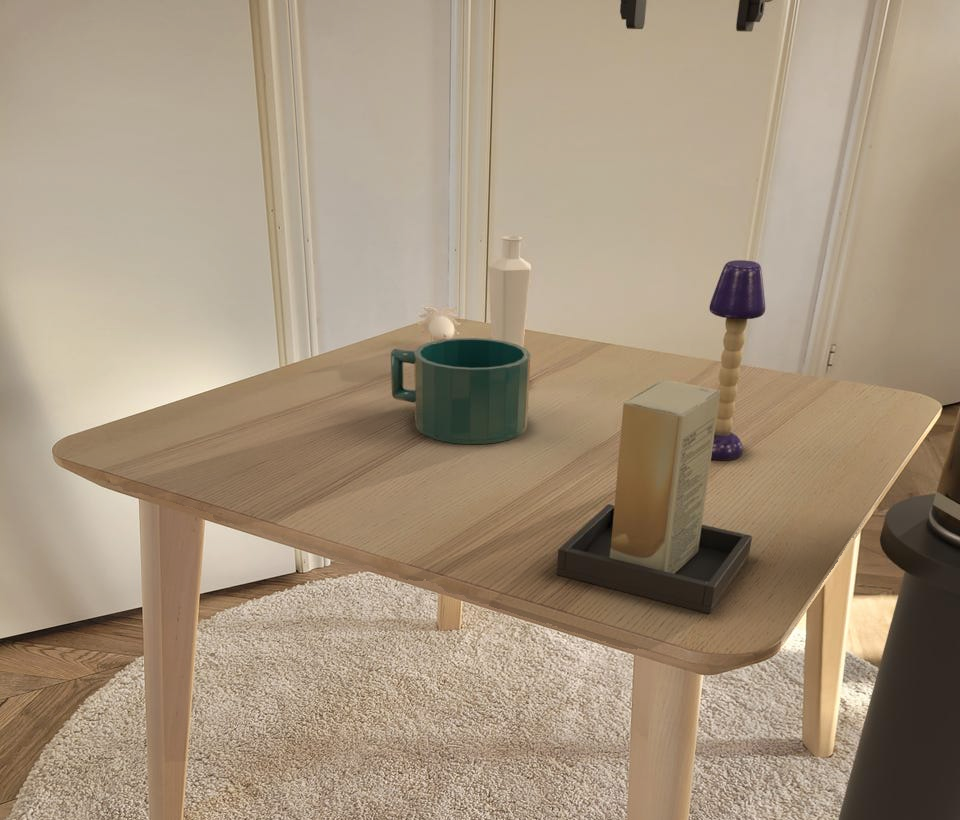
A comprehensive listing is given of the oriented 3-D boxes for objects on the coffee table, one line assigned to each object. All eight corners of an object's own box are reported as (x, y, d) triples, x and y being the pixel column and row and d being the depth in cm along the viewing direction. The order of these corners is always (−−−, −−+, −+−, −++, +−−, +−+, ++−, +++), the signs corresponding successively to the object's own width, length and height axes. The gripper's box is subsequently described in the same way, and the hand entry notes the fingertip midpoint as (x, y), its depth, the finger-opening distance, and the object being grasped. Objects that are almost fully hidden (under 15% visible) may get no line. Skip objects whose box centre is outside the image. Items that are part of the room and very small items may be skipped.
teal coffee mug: (544, 418, 99) (548, 348, 96) (494, 452, 91) (496, 376, 87) (420, 395, 105) (420, 327, 101) (363, 424, 97) (359, 352, 93)
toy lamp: (738, 465, 89) (769, 270, 81) (686, 458, 91) (711, 265, 82) (745, 447, 93) (775, 259, 84) (695, 441, 94) (720, 255, 86)
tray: (748, 560, 73) (752, 535, 72) (710, 614, 66) (714, 587, 65) (605, 527, 77) (607, 503, 76) (556, 574, 70) (557, 549, 69)
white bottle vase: (537, 385, 108) (544, 239, 101) (504, 392, 106) (509, 242, 99) (512, 375, 112) (518, 232, 104) (480, 381, 110) (483, 235, 102)
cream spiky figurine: (416, 341, 123) (416, 301, 121) (459, 341, 124) (460, 301, 121) (421, 369, 113) (421, 326, 111) (468, 368, 114) (469, 326, 111)
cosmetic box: (646, 538, 75) (665, 376, 68) (700, 553, 73) (724, 388, 66) (604, 569, 70) (620, 399, 64) (660, 587, 68) (682, 413, 62)
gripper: (598, -258, 66) (581, 28, 75) (815, -281, 61) (770, 31, 69) (638, -234, 72) (618, 29, 81) (840, -253, 66) (795, 32, 75)
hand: (688, 30), depth 75 cm, fingers open, 8 cm apart
